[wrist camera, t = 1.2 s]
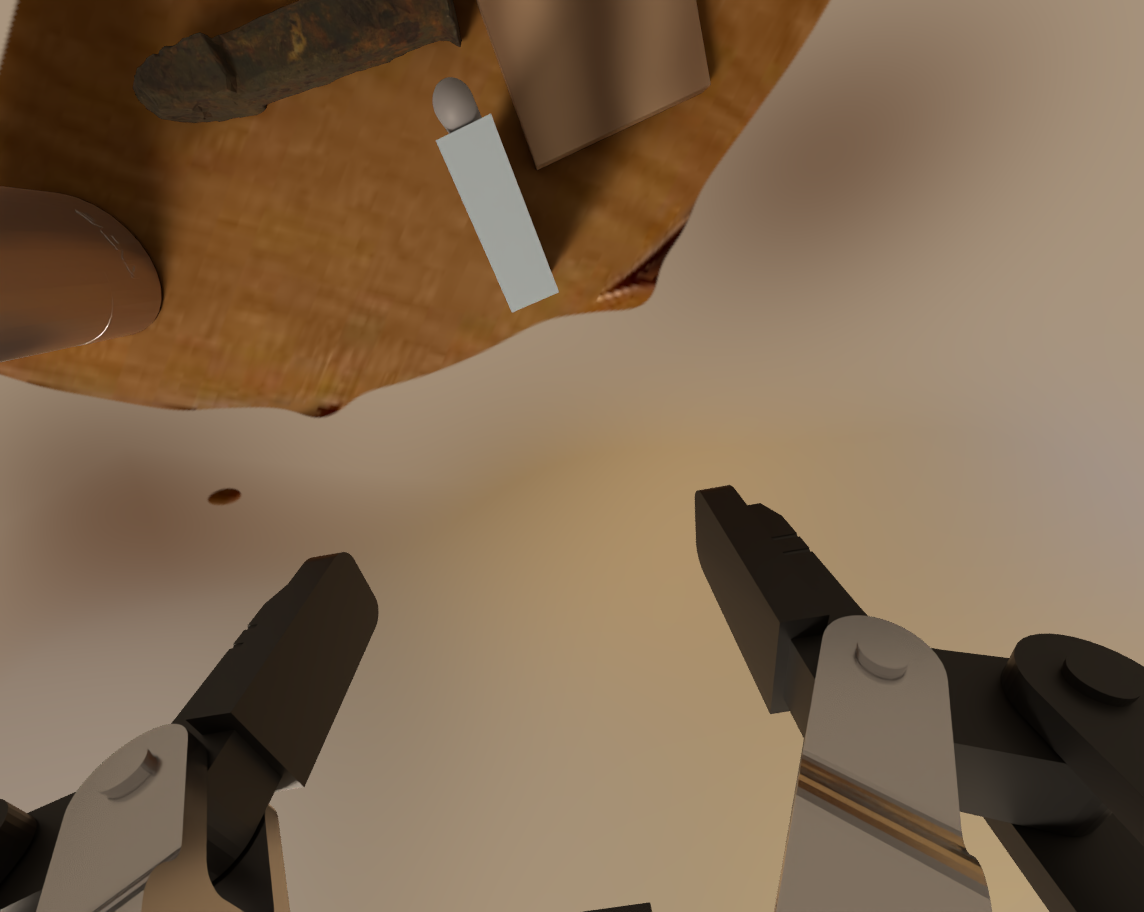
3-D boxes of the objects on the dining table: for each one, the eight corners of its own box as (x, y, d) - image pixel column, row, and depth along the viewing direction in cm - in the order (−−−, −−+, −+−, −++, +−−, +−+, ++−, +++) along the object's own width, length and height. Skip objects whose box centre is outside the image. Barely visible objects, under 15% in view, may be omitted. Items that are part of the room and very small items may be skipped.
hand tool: (442, -39, 24) (422, -99, 20) (468, 51, 26) (455, 13, 21) (148, 65, 25) (70, 28, 21) (193, 144, 27) (129, 125, 22)
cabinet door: (521, 287, 32) (512, 312, 19) (468, 161, 28) (413, 91, 15) (549, 275, 31) (558, 292, 19) (500, 146, 28) (471, 62, 15)
